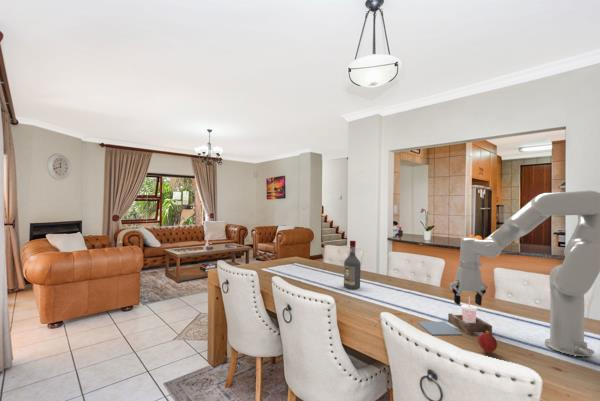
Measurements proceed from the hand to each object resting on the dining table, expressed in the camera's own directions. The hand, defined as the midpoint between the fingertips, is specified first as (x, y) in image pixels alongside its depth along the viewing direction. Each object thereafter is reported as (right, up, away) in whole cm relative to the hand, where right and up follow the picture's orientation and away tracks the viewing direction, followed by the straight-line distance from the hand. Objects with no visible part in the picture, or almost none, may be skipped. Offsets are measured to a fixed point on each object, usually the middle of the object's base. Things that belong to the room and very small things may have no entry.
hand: (467, 304), depth 129 cm
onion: (-6, -10, -23) cm, 26 cm away
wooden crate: (0, -10, -1) cm, 10 cm away
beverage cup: (0, -10, -1) cm, 10 cm away
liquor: (-41, -10, +59) cm, 72 cm away
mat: (-14, -10, -3) cm, 17 cm away
